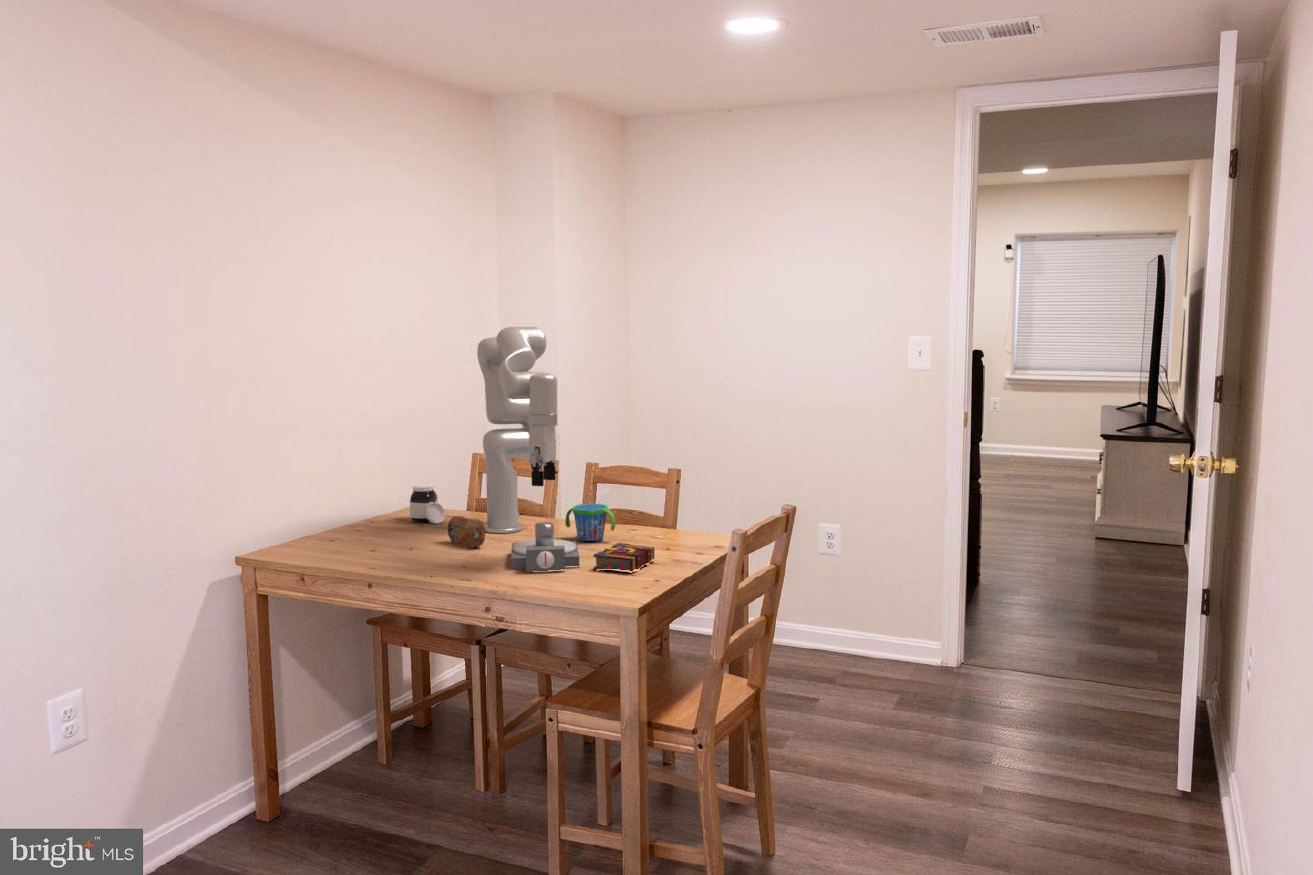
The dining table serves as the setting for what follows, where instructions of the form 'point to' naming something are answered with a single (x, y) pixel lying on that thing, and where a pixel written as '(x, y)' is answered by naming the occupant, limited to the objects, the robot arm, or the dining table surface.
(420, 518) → the spread jar
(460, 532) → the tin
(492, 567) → the dining table surface
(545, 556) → the scale
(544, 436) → the robot arm
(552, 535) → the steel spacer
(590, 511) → the snack cup
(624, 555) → the decorative book
